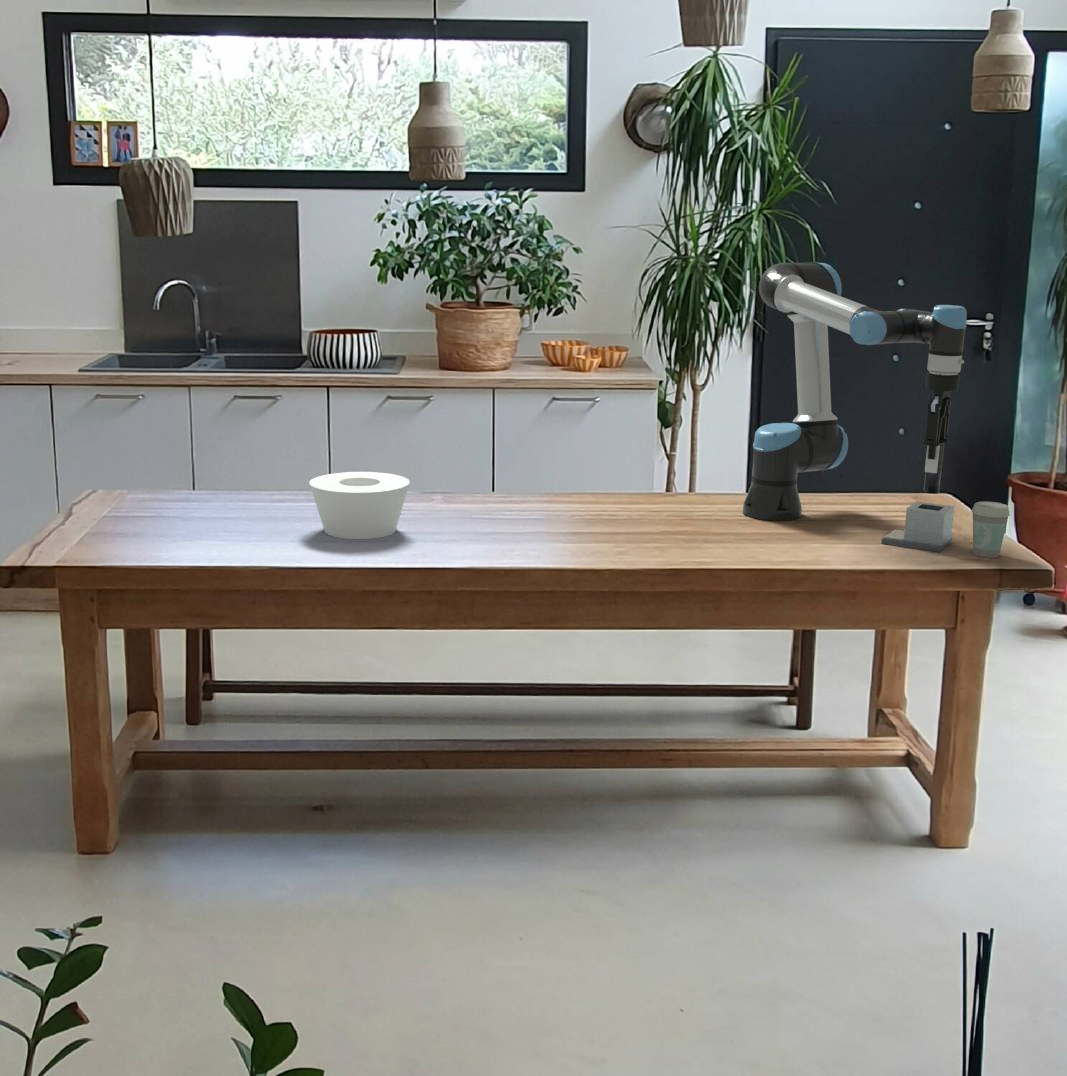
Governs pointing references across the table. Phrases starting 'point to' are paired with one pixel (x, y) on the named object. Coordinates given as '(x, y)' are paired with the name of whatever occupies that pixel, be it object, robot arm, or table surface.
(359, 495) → the white tapered cylinder
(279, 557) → the table surface
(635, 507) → the table surface
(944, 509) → the square frame housing
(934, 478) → the black tapered cylinder
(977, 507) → the coffee cup
